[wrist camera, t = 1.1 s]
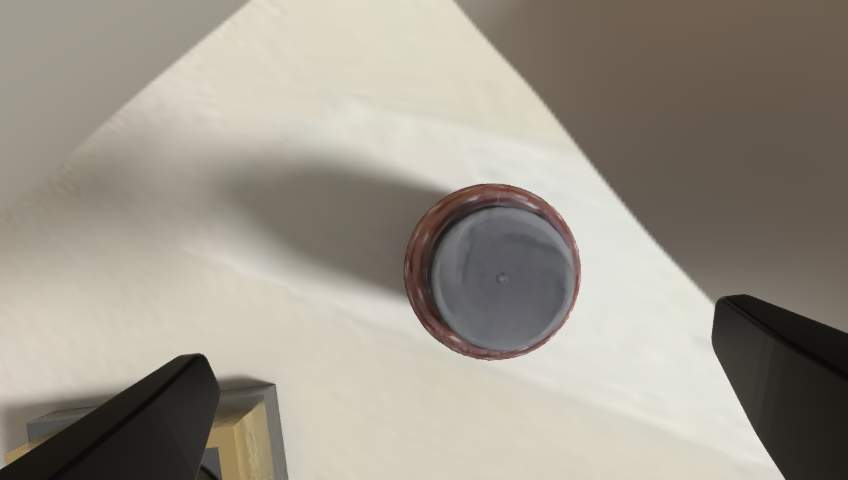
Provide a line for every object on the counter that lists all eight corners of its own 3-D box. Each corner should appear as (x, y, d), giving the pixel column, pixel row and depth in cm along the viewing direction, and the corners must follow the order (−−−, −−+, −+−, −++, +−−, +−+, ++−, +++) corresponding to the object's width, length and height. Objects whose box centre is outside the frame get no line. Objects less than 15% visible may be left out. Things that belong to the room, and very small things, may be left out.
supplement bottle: (422, 324, 24) (403, 399, 13) (409, 208, 24) (377, 183, 13) (540, 311, 24) (624, 377, 13) (526, 194, 24) (598, 155, 13)
